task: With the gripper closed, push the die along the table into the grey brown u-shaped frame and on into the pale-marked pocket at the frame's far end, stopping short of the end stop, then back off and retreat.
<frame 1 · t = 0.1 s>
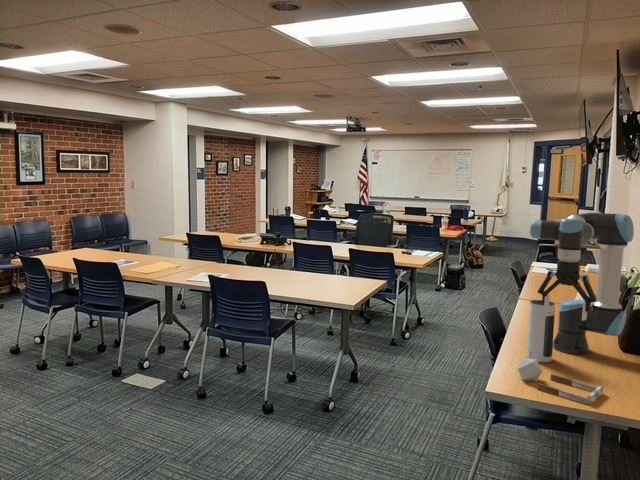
hand: (564, 316, 185), 28 cm above the table, fingers open, 13 cm apart
die: (529, 379, 195), on the table
speaker: (538, 358, 218), on the table
grey brown u-shaped frame: (568, 391, 184), on the table
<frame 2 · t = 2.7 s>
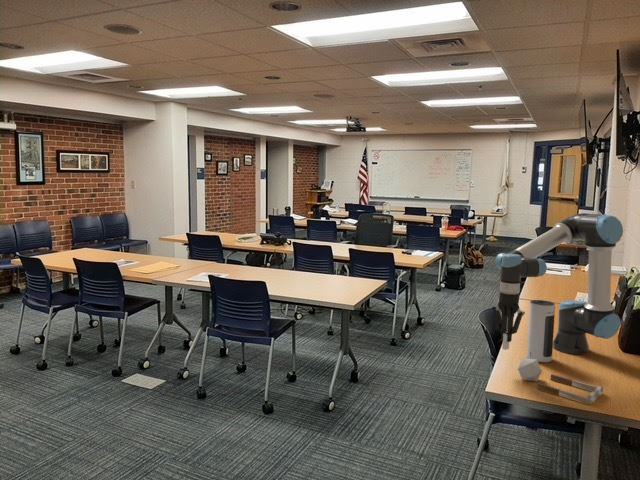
hand: (505, 348, 201), 10 cm above the table, fingers closed
nothing on the table moved.
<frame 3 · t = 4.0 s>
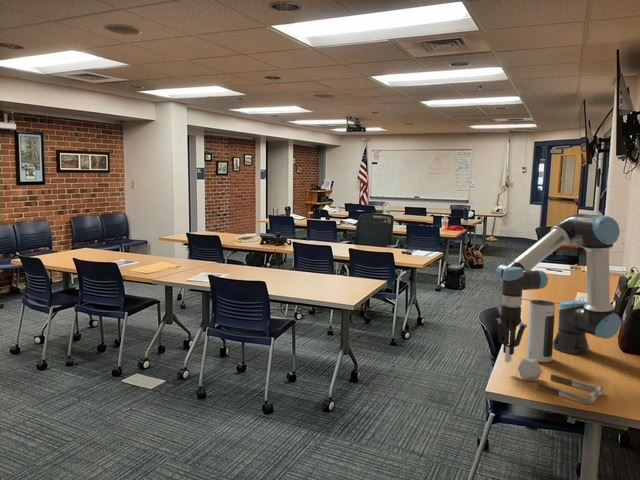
hand: (508, 361, 201), 5 cm above the table, fingers closed
nothing on the table moved.
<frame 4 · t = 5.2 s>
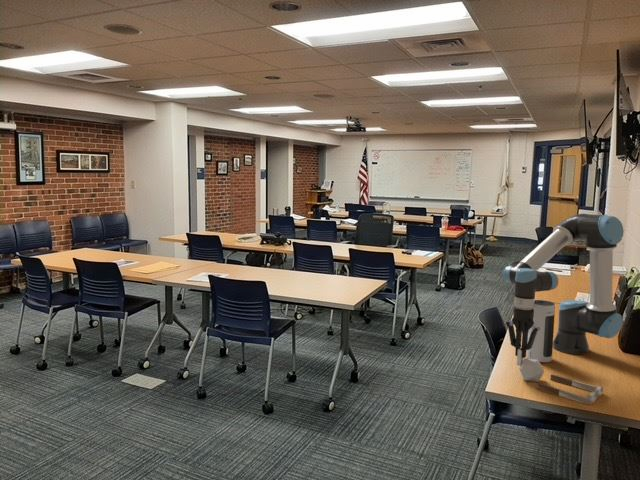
hand: (520, 364, 197), 5 cm above the table, fingers closed
die: (530, 380, 194), on the table, touching gripper
everything else where it was.
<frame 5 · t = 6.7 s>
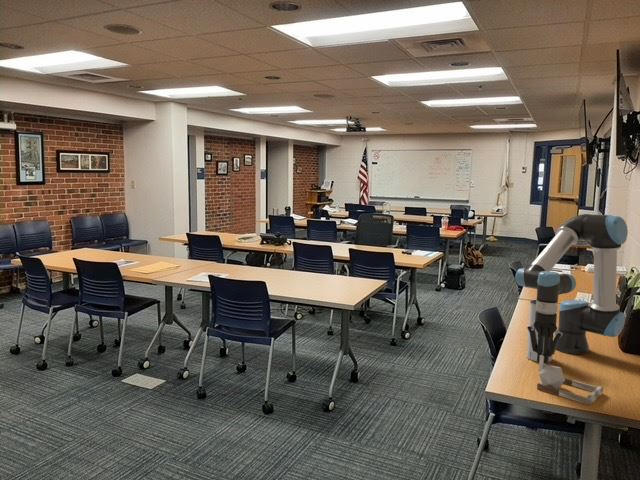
hand: (542, 370, 191), 5 cm above the table, fingers closed
die: (551, 387, 188), on the table, touching gripper
everything else where it was.
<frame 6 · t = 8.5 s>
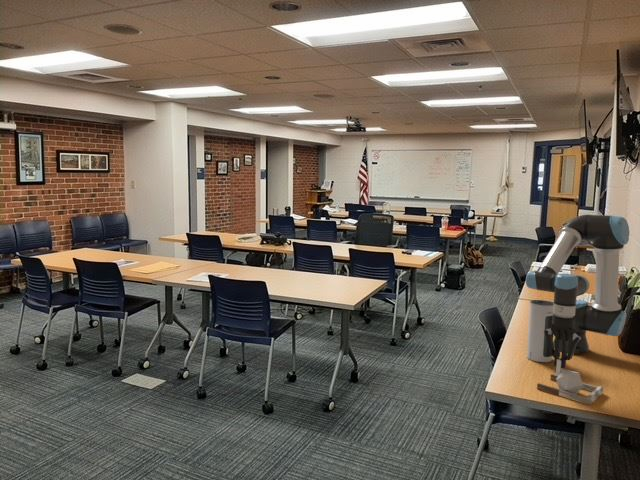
hand: (559, 375, 186), 5 cm above the table, fingers closed
die: (568, 393, 183), on the table, touching gripper
everything else where it was.
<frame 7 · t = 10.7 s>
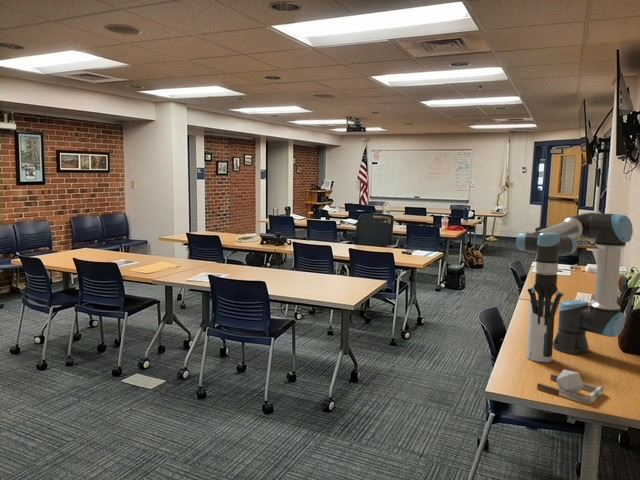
hand: (542, 332, 190), 20 cm above the table, fingers closed
die: (568, 393, 183), on the table
everything else where it was.
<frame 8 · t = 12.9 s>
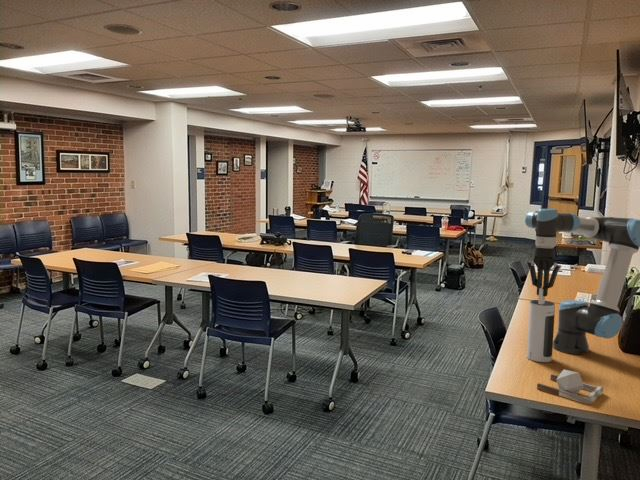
hand: (541, 303, 202), 28 cm above the table, fingers closed
nothing on the table moved.
at the end: die inside the target area (3.0 cm from its centre), on the table; the gripper is holding nothing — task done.
